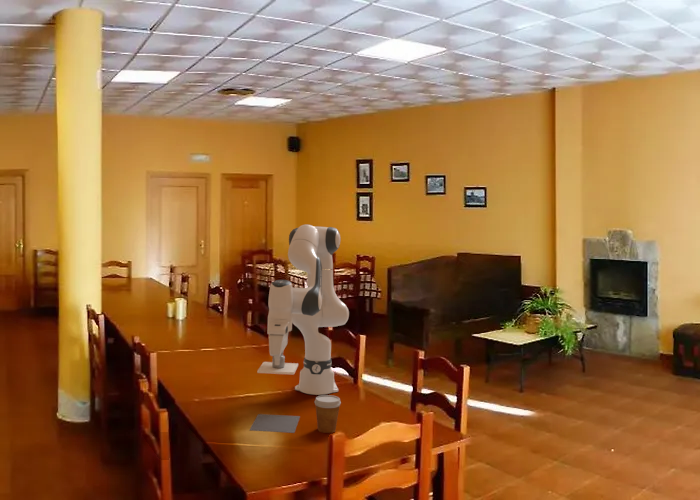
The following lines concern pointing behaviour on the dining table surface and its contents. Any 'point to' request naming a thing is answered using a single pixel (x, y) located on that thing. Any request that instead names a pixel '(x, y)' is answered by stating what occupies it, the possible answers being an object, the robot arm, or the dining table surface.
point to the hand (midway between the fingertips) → (278, 362)
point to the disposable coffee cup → (327, 412)
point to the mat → (275, 423)
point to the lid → (278, 367)
